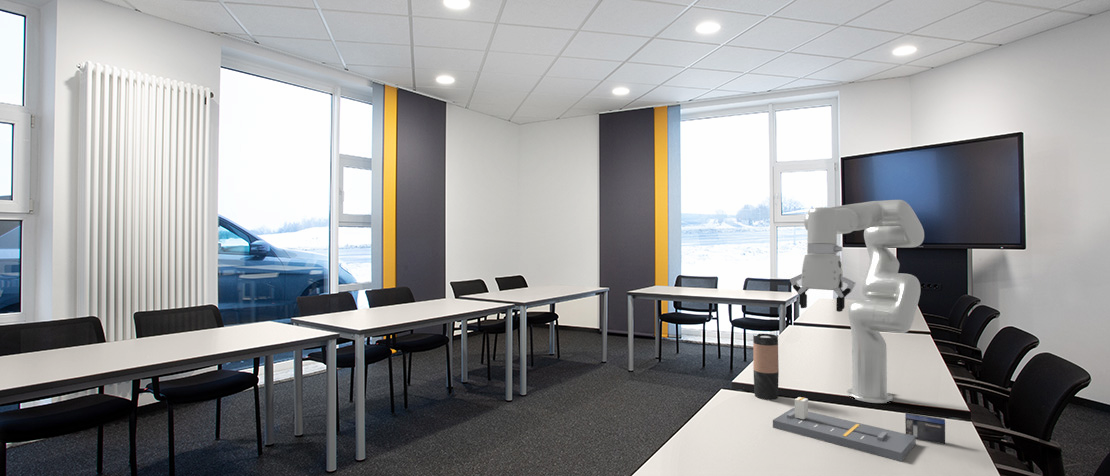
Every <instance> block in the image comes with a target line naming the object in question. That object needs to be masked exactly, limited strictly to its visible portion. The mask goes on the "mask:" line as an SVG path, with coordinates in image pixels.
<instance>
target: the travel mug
mask: <svg viewBox="0 0 1110 476" xmlns="http://www.w3.org/2000/svg"><path fill="white" fill-rule="evenodd" d="M752 336H753V343H752V344H753V347H752V348H753V355H752V357H753V361H752V362H753V363H752V364H753V368H752V369H753V386H754V387H753V389H754V392H753V393H754V397H755V398H757V399H761V400H766V401H768V400H769V401H774V400H777V399H778V398H779V374H780V373H779V372H780V371H779V337H778V335H775V334H772V333H771V334H770V333H758V334H757V335H754V334H753V335H752Z"/></svg>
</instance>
